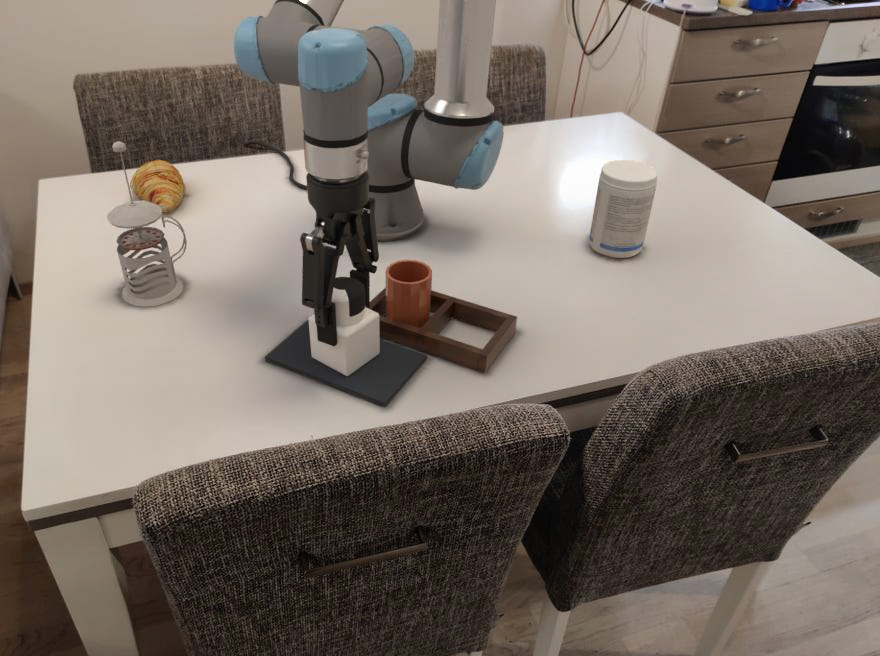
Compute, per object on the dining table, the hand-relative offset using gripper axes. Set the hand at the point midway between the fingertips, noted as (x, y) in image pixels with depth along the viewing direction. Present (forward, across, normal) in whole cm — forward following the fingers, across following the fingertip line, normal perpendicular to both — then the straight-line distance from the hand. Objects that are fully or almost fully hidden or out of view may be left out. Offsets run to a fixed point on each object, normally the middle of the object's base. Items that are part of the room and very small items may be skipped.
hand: (344, 326), depth 101 cm
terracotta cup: (+6, +13, -3) cm, 15 cm away
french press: (+6, +1, +37) cm, 38 cm away
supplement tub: (+6, +53, -24) cm, 58 cm away
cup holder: (+6, +13, -8) cm, 16 cm away
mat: (+6, 0, 0) cm, 6 cm away
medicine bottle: (+5, 0, 0) cm, 5 cm away
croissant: (+6, +27, +62) cm, 68 cm away
